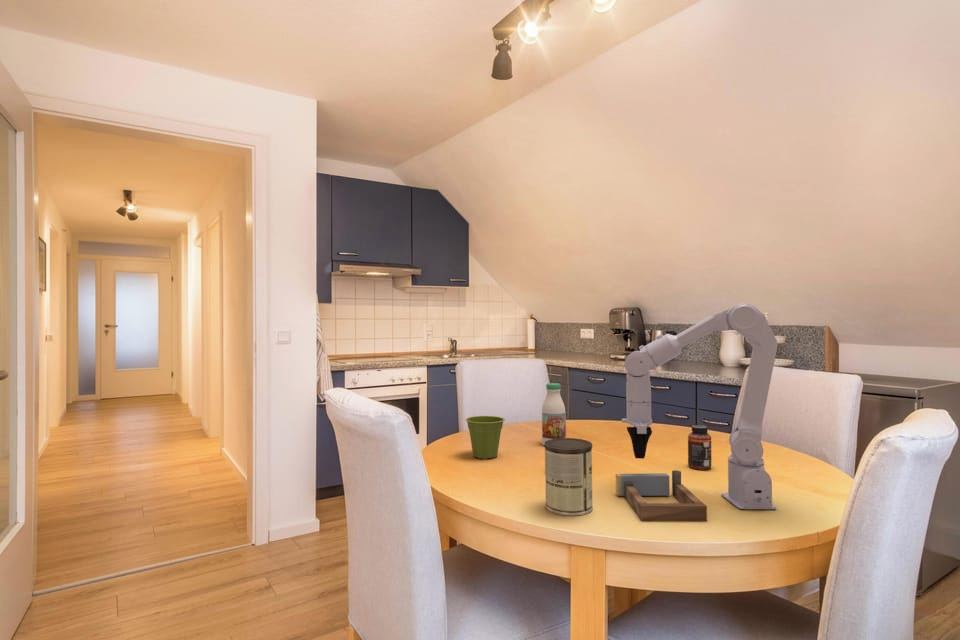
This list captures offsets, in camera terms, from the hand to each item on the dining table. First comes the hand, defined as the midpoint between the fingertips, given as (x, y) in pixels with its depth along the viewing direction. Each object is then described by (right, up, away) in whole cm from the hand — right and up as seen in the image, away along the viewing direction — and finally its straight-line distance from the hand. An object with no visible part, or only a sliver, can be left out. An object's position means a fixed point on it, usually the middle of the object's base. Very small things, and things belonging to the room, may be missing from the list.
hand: (639, 457), depth 128 cm
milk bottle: (-14, -8, +45) cm, 48 cm away
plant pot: (-37, -8, +32) cm, 49 cm away
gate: (-1, -7, -4) cm, 9 cm away
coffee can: (-19, -8, -12) cm, 24 cm away
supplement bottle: (+22, -8, +18) cm, 29 cm away
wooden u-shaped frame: (+1, -8, -12) cm, 14 cm away
